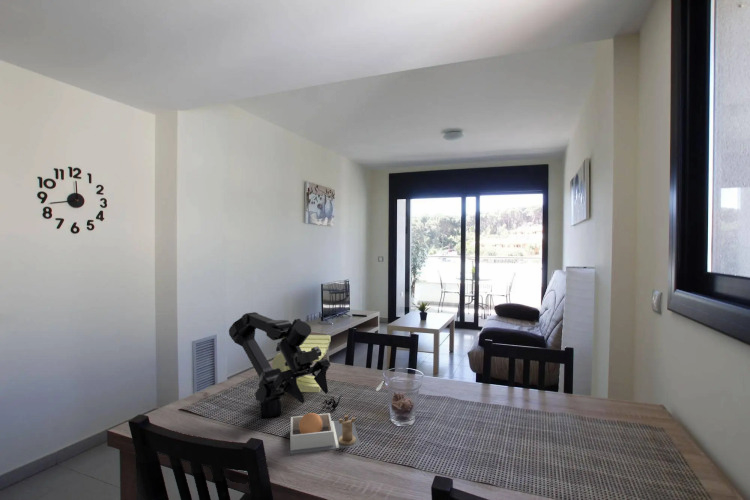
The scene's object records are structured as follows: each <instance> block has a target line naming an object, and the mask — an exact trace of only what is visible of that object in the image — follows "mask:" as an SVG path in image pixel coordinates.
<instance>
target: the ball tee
mask: <svg viewBox="0 0 750 500" xmlns="http://www.w3.org/2000/svg"><path fill="white" fill-rule="evenodd" d="M351 419H352V421H351V420H349V414H345V415H344V418H339V419H338V421H339V424H341V423H342V436H341V437H340V438H339V443H340V444H342V445H352V444H354V443H355V442H356V437H355V436H353V435H352V422H353V423H356V416H355V417H354V416H353V417H351ZM343 420H344V421H343Z"/></svg>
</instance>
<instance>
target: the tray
mask: <svg viewBox="0 0 750 500" xmlns="http://www.w3.org/2000/svg"><path fill="white" fill-rule="evenodd" d="M316 414H317V413H316ZM317 415H319V416H320V418H321V420H322V427H328V428H329V431H325V432H315V433H306V434H296V435H293V430H299V423H300V420H301V418H302V417H303V416H304V415H298V416H297V415H295V416H290V431H289V434H290V437H289V439H290V441H289V442H290V444H289V447H290V448H289V451H290V450H297V449H306V448H315V447H324V446H333V445H334V431H333V426H332V421H333V420H332V416H331V412H327V413H320V414H319V413H318V414H317Z"/></svg>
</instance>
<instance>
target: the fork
mask: <svg viewBox="0 0 750 500" xmlns="http://www.w3.org/2000/svg"><path fill="white" fill-rule="evenodd" d="M384 382H385V381H383V380H382V381H381V383H379V385H378V386H377V387H376V389H375V391H376V392H378V391H380V390H381V388H382V387H383V385H384Z"/></svg>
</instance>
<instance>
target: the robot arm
mask: <svg viewBox="0 0 750 500" xmlns="http://www.w3.org/2000/svg"><path fill="white" fill-rule="evenodd" d="M257 329H258V330H260V331H263V332H265V333H266V334H265V335H266V337H268V338H269V339H270V340H272V341H278V340H280V342H277V345H276V350H275V351H276V352H280V353H282V354H283V356H284V358H285V360H286V363H285V366H289V368H290V370H287V371H283V372H281V370H280V369H279V368H277V369H273V366H271V364H270V363H269V360H268V359H267V357H266V356H265V354H264V352H263V351H262V349H261V347H260V345H259V343H258V342H257V340H256V338H255V336H256V330H257ZM311 333H312V327H311V325H310V324H308V323H307V322H305V321H303V320H301V318H295V319H293V321H292V322H291V321H290V320H288V319H272V318H269V317H267V316H264V315H261V314H259V313H258V312H255V311H252V312H247V313H244V314H242V316H241V317H240V318H239V319H237V320H235V321H234V322H233V323H232V325H231V326H230V327H229V328H228V335H229V337H230V338H231V340H232V341H233V342H234V344H236V345H239V346H240V347H242V349H243V350H244V352H245V354H246V355H247V357H248V360H249V361H250V363H251V364H252V367H253V369H254V370H255V373H257V375H258V389H257V390H256V391H255V393H254V395H255V400H256V401H258V402H260V416H259V419H260V420H265V419H278V418H280V417H281V415H282V411H283V410H282V409H283V406H282V405H283V402H282V399H281V397H284V396H285V395H286V394H288V395H290V396H291V397H293V398H294V399H295V400H297V401H298V402H300V403H301V404H305V402H306V401H305V398H304V396H303V392H301V391H300V389H299V387H298V385H297V380H296V378H299V377H302V376H305V375H308V376H309V375H310V374H311V376H314V377H315V378H314V380H315V381H316V382H317V384H318V385H319V386H320V388H321V390H322V392H323V393H324V394H326V395H328V393H329V389H328V381H327V371H328V370H329V368H330V366H331V363H330V361H329V360H328V359H327V358H322V359H321V360H319V356H321V354H322V353H321V350H320V349H319V347H318V346H317V347H314V348H311V351H308V352H306V351H305V350H304V351H302V350H301V349H300V347H299V346H300V345H302V344H303V343H304V341H305V340H306V339H307V337H308V336H309V335H311ZM314 360H319V361H317V362H313V361H314ZM312 365H313V366H312Z"/></svg>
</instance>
